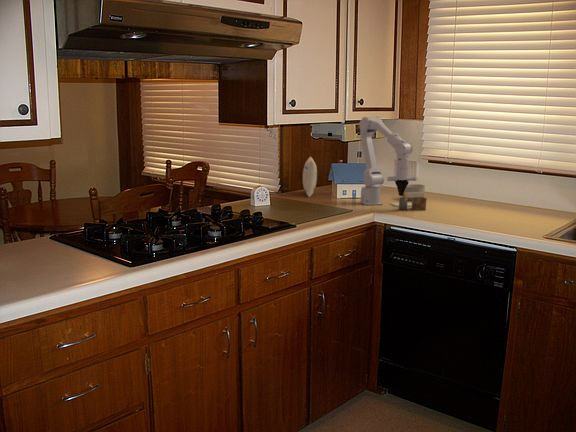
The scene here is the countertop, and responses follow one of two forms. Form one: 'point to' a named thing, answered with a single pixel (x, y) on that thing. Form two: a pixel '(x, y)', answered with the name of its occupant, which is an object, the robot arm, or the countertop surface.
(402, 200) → the plug
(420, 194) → the steel bar
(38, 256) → the countertop surface
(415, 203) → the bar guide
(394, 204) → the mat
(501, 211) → the countertop surface
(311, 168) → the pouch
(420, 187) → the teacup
